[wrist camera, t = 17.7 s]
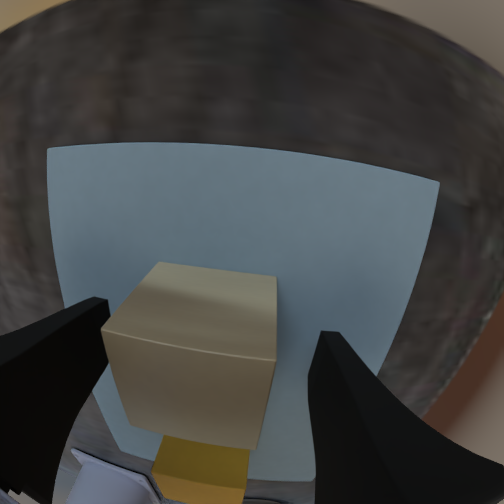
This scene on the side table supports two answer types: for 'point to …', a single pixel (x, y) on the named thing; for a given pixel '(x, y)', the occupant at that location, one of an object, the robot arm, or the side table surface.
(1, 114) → the side table surface
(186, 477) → the mustard block
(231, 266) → the placemat
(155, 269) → the birch block
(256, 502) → the beverage can
